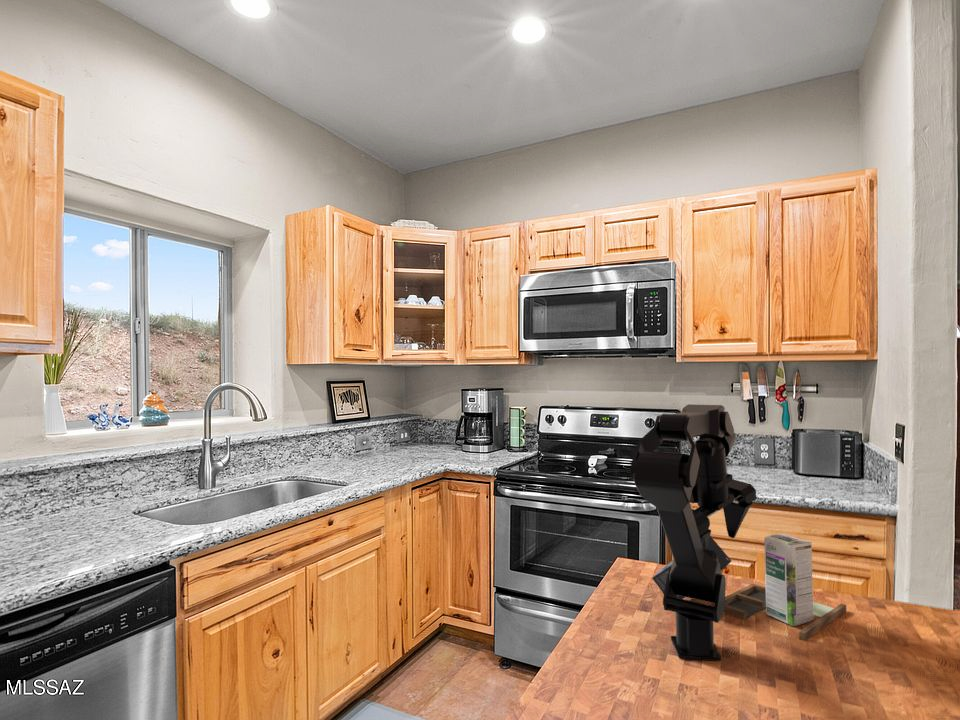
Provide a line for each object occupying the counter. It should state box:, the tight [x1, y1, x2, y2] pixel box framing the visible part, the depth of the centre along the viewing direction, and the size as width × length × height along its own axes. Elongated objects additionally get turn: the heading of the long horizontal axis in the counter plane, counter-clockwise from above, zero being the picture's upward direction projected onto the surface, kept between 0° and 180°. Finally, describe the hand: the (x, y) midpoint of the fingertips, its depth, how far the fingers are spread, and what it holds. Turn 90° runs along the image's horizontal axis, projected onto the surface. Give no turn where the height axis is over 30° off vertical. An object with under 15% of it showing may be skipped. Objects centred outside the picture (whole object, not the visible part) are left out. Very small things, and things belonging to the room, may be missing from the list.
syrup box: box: [763, 533, 814, 627], centre depth 100 cm, size 6×6×14 cm
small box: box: [651, 535, 732, 599], centre depth 107 cm, size 11×6×10 cm
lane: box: [724, 583, 847, 642], centre depth 103 cm, size 18×16×1 cm
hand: (717, 547), depth 103 cm, fingers open, 9 cm apart
